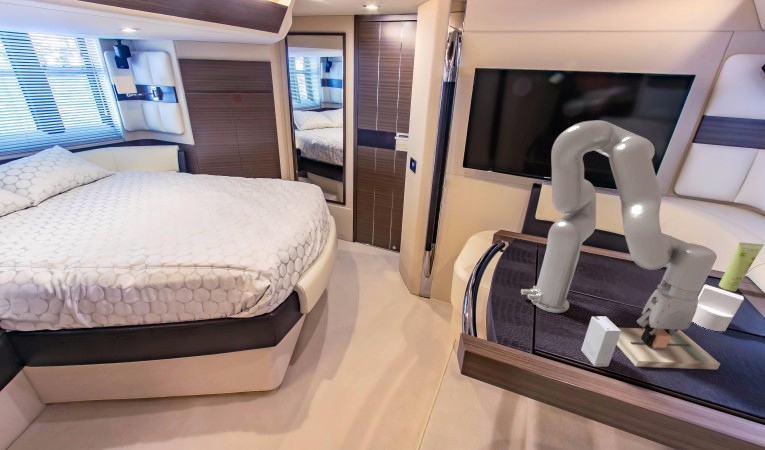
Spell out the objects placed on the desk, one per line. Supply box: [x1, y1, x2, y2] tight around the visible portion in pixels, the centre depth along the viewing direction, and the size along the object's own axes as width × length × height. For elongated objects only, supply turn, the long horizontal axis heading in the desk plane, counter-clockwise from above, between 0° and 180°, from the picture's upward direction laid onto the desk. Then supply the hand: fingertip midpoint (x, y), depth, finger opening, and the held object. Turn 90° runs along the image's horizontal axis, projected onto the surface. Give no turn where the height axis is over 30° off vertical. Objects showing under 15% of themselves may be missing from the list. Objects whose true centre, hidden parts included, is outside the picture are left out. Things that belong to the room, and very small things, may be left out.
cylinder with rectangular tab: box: [691, 283, 745, 332], centre depth 102 cm, size 9×9×12 cm
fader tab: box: [641, 326, 671, 350], centre depth 90 cm, size 3×5×5 cm, turn 179°
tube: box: [718, 242, 764, 292], centre depth 119 cm, size 6×5×20 cm
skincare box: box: [581, 315, 621, 368], centre depth 86 cm, size 6×4×12 cm
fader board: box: [616, 327, 721, 370], centre depth 92 cm, size 22×13×2 cm, turn 89°
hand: (652, 342), depth 91 cm, fingers closed on fader tab, 3 cm apart
